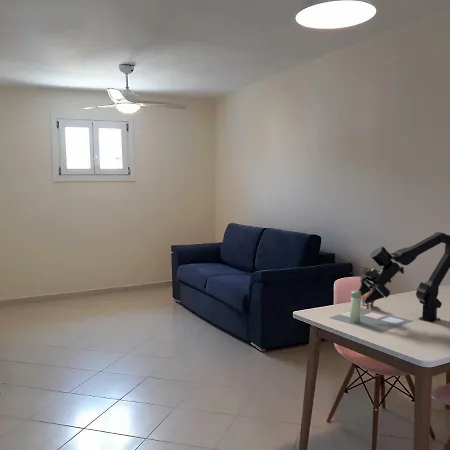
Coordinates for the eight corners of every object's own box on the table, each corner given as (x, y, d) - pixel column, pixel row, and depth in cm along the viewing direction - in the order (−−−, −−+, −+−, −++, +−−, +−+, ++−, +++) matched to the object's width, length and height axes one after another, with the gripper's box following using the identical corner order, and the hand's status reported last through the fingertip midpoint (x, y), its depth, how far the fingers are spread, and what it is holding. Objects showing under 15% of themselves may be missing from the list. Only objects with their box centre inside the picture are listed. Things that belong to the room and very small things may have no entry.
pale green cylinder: (354, 319, 204) (354, 290, 203) (362, 321, 201) (363, 291, 199) (348, 321, 201) (348, 291, 200) (356, 323, 198) (357, 293, 197)
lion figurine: (380, 310, 219) (381, 291, 218) (369, 311, 218) (370, 292, 217) (366, 302, 233) (366, 284, 232) (356, 302, 232) (356, 284, 231)
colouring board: (361, 308, 222) (361, 307, 222) (413, 321, 202) (413, 320, 202) (328, 318, 207) (328, 317, 207) (381, 333, 187) (381, 332, 187)
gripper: (365, 257, 208) (340, 282, 208) (383, 264, 190) (356, 292, 190) (381, 274, 210) (357, 299, 210) (401, 283, 192) (374, 310, 191)
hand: (360, 299), depth 200 cm, fingers open, 9 cm apart
